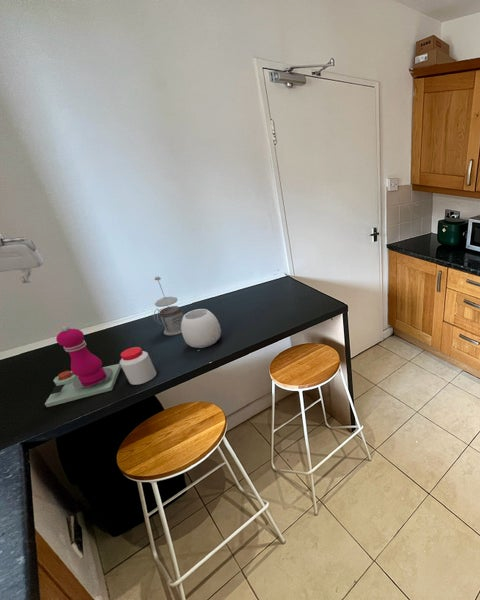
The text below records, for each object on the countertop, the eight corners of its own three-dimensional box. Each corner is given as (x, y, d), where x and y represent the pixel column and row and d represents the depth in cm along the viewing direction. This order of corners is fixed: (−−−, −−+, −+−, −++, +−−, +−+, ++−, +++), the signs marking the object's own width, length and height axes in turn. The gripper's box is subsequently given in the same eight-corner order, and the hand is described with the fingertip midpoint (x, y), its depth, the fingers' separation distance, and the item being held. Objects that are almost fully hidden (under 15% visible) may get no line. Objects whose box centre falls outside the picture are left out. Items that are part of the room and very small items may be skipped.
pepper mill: (94, 384, 101) (64, 332, 92) (72, 384, 101) (40, 332, 92) (112, 370, 108) (86, 320, 99) (91, 370, 108) (63, 320, 99)
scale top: (48, 397, 97) (47, 396, 96) (60, 378, 104) (60, 377, 104) (108, 382, 103) (108, 381, 103) (116, 365, 111) (115, 364, 110)
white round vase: (229, 341, 129) (220, 313, 123) (194, 356, 120) (183, 326, 114) (215, 330, 137) (207, 303, 131) (182, 343, 128) (171, 314, 122)
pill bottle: (136, 387, 105) (122, 361, 100) (124, 380, 108) (111, 354, 103) (161, 374, 111) (149, 349, 106) (149, 367, 114) (138, 342, 109)
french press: (195, 324, 141) (177, 273, 129) (173, 338, 131) (151, 284, 119) (177, 322, 143) (157, 271, 131) (153, 335, 133) (131, 282, 121)
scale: (44, 407, 97) (39, 400, 95) (61, 380, 108) (57, 373, 106) (112, 390, 104) (108, 383, 102) (121, 366, 115) (118, 359, 113)
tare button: (58, 381, 104) (56, 377, 103) (62, 376, 106) (59, 372, 105) (70, 378, 105) (68, 374, 104) (73, 373, 107) (71, 369, 107)
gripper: (34, 234, 96) (56, 275, 102) (-66, 242, 87) (-36, 287, 94) (24, 239, 91) (48, 282, 97) (-83, 248, 82) (-50, 295, 89)
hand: (6, 285), depth 95 cm, fingers open, 8 cm apart
